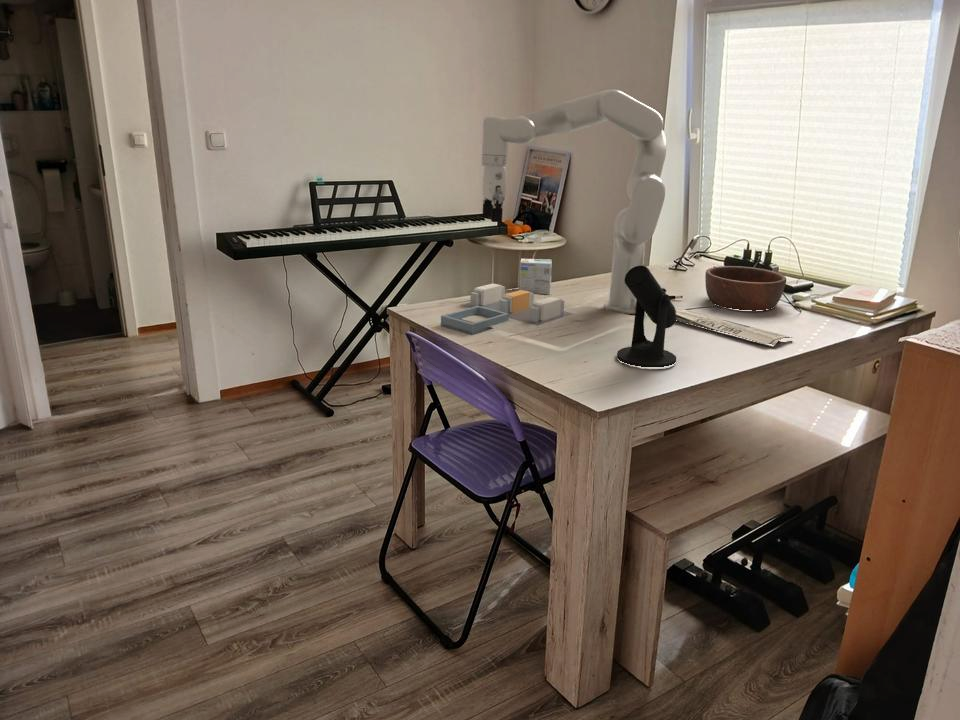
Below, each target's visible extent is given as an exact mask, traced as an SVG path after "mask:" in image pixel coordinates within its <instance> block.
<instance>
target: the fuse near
mask: <svg viewBox="0 0 960 720" xmlns="http://www.w3.org/2000/svg"><path fill="white" fill-rule="evenodd" d="M562 300H563V299H562V298H558V297H554V296H550V297H547V298H543V299H539V300H536V301H533V306H534V307H538V308H540V312H539V320H542V321H544V320H547V319H550V318H553V317H556V316H559V315H560V314H561V306H562Z"/></svg>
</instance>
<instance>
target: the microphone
mask: <svg viewBox="0 0 960 720" xmlns="http://www.w3.org/2000/svg"><path fill="white" fill-rule="evenodd" d="M625 284H626V285H627V287H628V288H629V290H630V291H631V292H632V294H633V295H634V297H635V298H636V299H637V302H636V311H635V314H634V322H633V329H632V338H631V339H632V340H631V346H627V347H623V348H620V349H619V350H617V352H616V359H617V358H618V359H619V360H620V361H622V362H624V363H627V364H630V365H635V366H641V367H664V366H669V365H672V364H674V363H675V362H676V363H677V356H676V355H675V354H674V353H672V352H671V351H669V350H665V338H666V329H670V328H672V327H673V326H674V325H675V324H676V323H677V321H676V320H677V317H676V310H677V309H676V308H675V305H674V304H673V302H672V301H671V299H672V297H671V296H670V295H669V294H667V293H666V292H667V289H665V288H664V287H662V286H661V285H660V284H659V283H658V281H657V279H656V278H655V277H654V275H653V273H652V272H651V270H650V269H649V268H648V267H647V266H646V265H643V266H641V265H640V266H636V267H633V268H632V269H630V270H629V271H628V272H627V274H626V276H625ZM645 314H646V315H647V317H648V318H649V320H650V321H651V322H653V323H654V324H655V325H656V326H655V333H654V336H653V341H651V340H649V339H647V338H646V336H645V322H644V321H645Z"/></svg>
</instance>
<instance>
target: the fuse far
mask: <svg viewBox="0 0 960 720" xmlns="http://www.w3.org/2000/svg"><path fill="white" fill-rule="evenodd" d="M502 286H503V285H502V284H497V283H489V284H486V285H481V286H477V287H475V288H473V292H476V293H480V303H479V305H483V306H484V305H487V304H491V303H494V302H498V301H499V300H500V299H502Z"/></svg>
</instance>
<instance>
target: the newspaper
mask: <svg viewBox="0 0 960 720" xmlns="http://www.w3.org/2000/svg"><path fill="white" fill-rule="evenodd" d="M675 310H676V317H677V321H681V322H684V323H688V324H693V325H696V326H700V327H704V328H707V329H711V330H716V331H720V332H724V333H728V334H732V335H735V336H738V337H742V338H745V339H749V340H752V341H755V342H759V343H762V344H766V345H767V344H772V345H775V346H776V344H777V343H778V341H779V340H781V339H783V338H790V337H791V338H793V337H792V336H788V335H784V334H781V333H777V332H773V331H768V330H765V329H761V328H758V327H752V326H749V325H745V324H742V323H736V322H734V321H730V320H725V319H721V318H719V317H714V316H711V315H707V314H703V313H700V312H696V311H692V310H688V309H685V308H683V309H675ZM677 321H676V322H677ZM681 322H680V323H681ZM684 323H683V324H684ZM688 324H687V325H688ZM696 326H695V327H696ZM700 327H699V328H700ZM707 329H706V330H707ZM711 330H710V331H711ZM755 342H754V343H755ZM762 344H761V345H762ZM766 345H765V346H766Z"/></svg>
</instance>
